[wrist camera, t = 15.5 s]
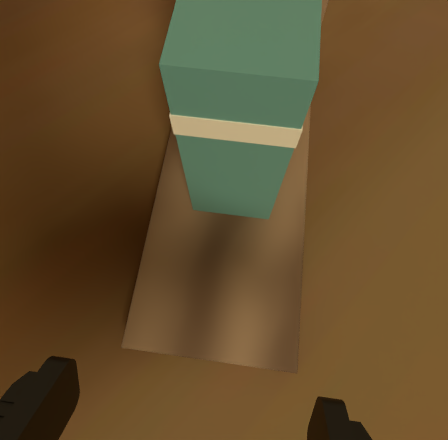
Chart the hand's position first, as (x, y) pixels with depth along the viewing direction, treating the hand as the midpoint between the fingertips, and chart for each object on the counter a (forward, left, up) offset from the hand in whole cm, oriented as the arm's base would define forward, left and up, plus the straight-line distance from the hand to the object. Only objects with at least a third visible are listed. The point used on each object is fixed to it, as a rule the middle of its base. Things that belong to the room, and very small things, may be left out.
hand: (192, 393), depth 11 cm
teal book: (0, +12, -8) cm, 14 cm away
